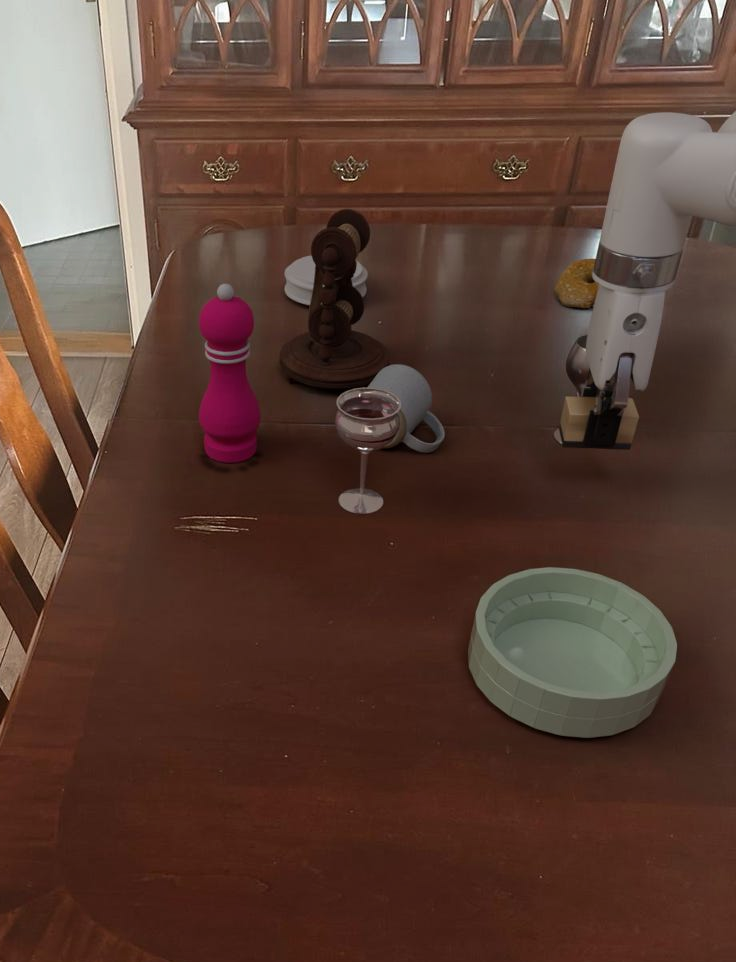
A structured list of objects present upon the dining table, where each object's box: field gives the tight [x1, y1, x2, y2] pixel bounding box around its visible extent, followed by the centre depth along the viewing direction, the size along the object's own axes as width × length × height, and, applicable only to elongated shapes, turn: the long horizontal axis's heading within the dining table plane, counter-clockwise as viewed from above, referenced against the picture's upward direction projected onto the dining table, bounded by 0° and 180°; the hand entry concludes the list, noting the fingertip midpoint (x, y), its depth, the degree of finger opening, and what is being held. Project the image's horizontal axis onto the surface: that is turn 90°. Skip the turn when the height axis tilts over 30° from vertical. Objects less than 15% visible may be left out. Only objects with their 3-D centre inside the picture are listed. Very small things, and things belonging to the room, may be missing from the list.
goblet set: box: [553, 334, 590, 445], centre depth 115 cm, size 28×6×13 cm, turn 154°
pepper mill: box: [198, 283, 262, 464], centre depth 104 cm, size 7×7×20 cm
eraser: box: [558, 395, 640, 451], centre depth 99 cm, size 7×4×4 cm, turn 83°
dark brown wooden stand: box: [279, 208, 391, 389], centre depth 118 cm, size 15×15×20 cm
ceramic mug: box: [366, 363, 446, 454], centre depth 110 cm, size 11×8×8 cm
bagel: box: [554, 258, 599, 309], centre depth 140 cm, size 10×11×5 cm
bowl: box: [467, 566, 678, 739], centre depth 81 cm, size 17×17×6 cm
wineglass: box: [334, 387, 401, 515], centre depth 99 cm, size 7×7×12 cm
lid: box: [284, 254, 368, 306], centre depth 142 cm, size 13×13×5 cm
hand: (595, 432), depth 100 cm, fingers closed on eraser, 4 cm apart
